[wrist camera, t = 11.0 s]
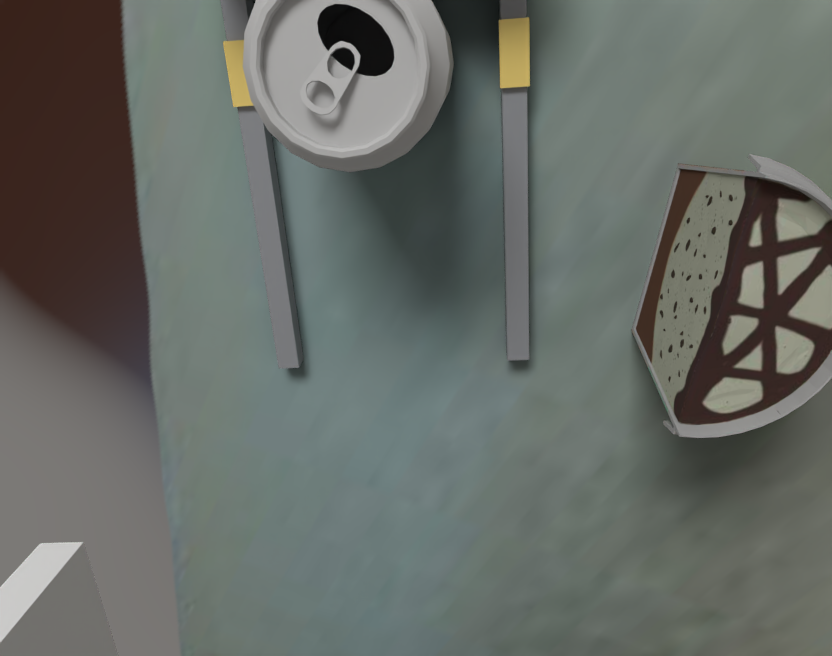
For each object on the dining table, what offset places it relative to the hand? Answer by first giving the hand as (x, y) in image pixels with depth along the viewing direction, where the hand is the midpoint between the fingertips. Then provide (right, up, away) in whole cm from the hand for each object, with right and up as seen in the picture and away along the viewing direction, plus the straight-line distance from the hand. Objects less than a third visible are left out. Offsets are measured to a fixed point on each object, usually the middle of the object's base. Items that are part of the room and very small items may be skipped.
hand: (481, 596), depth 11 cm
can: (-3, +18, +23) cm, 29 cm away
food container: (+15, +8, +25) cm, 30 cm away
